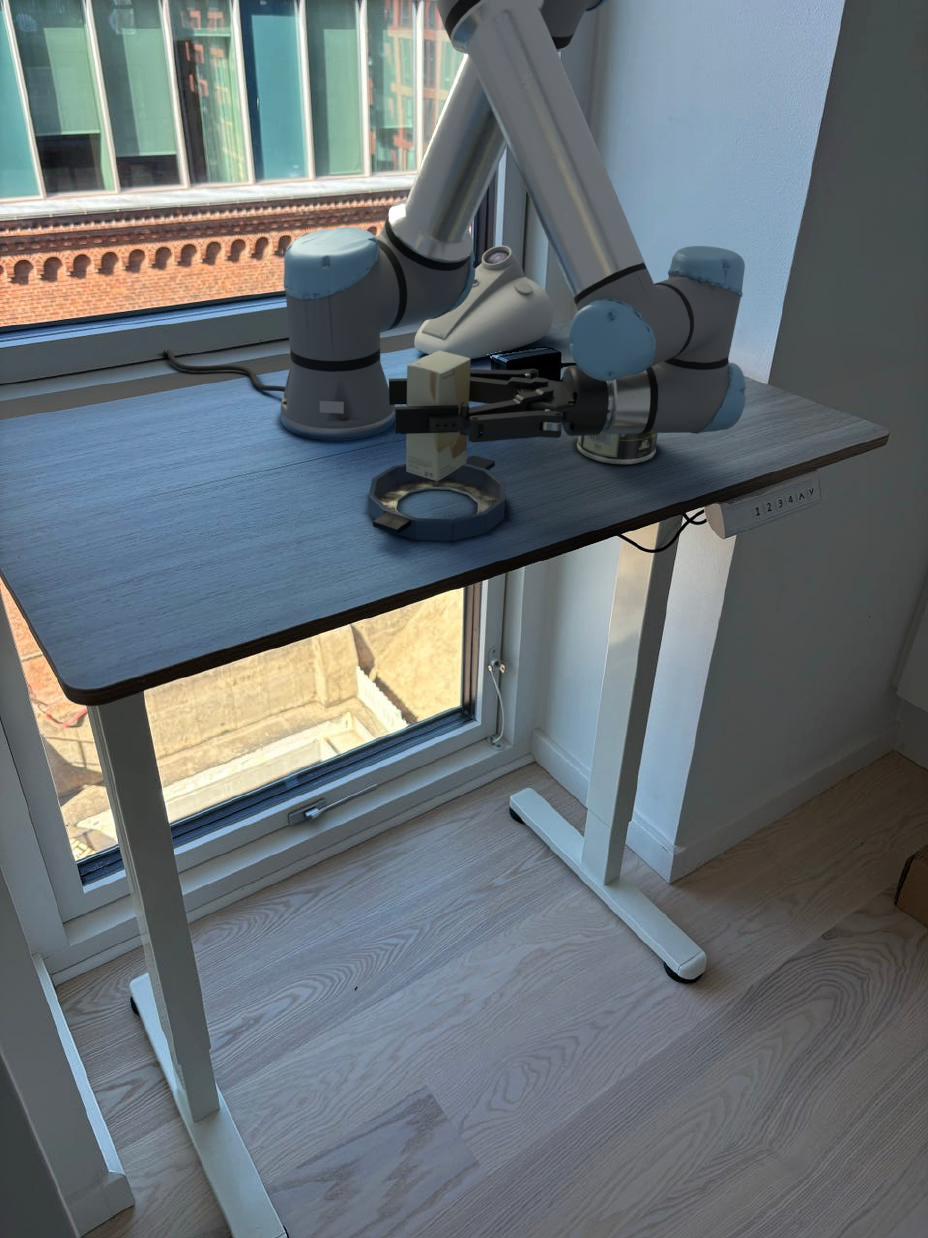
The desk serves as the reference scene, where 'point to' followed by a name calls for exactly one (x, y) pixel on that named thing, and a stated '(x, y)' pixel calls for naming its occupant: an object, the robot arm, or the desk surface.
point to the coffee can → (618, 447)
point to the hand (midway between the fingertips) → (392, 405)
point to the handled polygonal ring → (464, 480)
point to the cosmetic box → (437, 385)
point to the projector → (491, 312)
